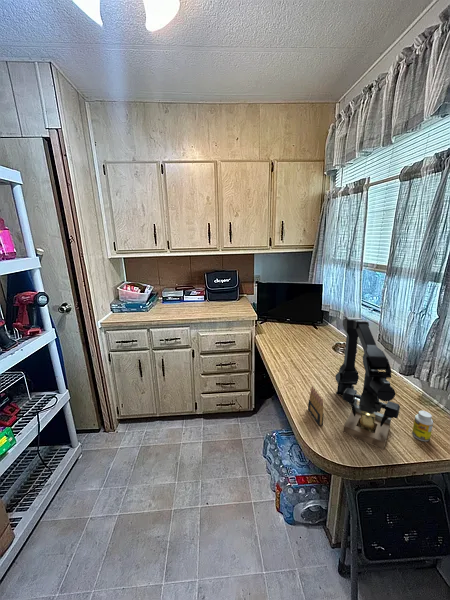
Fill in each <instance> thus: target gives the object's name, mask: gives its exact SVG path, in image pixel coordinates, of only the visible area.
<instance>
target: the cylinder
mask: <svg viewBox="0 0 450 600" xmlns="http://www.w3.org/2000/svg"><path fill="white" fill-rule="evenodd" d="M374 422H375V414H374V413H373V414H370V413H368V412H365V411H362V412H361V419H360V424H359V427H360V428H363V429H365V430H367V431H370V432H372V433H374Z"/></svg>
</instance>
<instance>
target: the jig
mask: <svg viewBox="0 0 450 600" xmlns="http://www.w3.org/2000/svg"><path fill="white" fill-rule="evenodd" d="M361 412H362V410H360V409H359V404H357V410H356V416H354V414H353V411H352V410H351V411H350V413H349V414H348V417H347V419H346V421H345V422H344V425H343V431H342V432H343V433H345V434H346V435H349V436H351V437H354V438H355V439H358V440H361V441H362V442H366V443H367V444H370V445H372V446H374V447H377V448H380V449H382V450H385V446H386V443H387V439H388V435H389V432H390V428H391V423H392V422H391V421H392V418H388V419H387V420H386V421H385V422H384V424H383V425H382V427H381V426H380V424H381V421H382V418H383V415H384V413H381V412H377V413H376V412H374V414H375V422H374V429H373V431H374V432H373V433H372V432H370V431H367V430H365V429H363V428H360V419H361Z"/></svg>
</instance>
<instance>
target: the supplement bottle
mask: <svg viewBox="0 0 450 600" xmlns="http://www.w3.org/2000/svg"><path fill="white" fill-rule="evenodd" d="M432 417H433V415H432V414H431V413H430V412H428V411H426V410H419V411H418V414H415V416H414V421H413V426H412V432H411V434H412V436H413V437H414V438H415V439H417V440H419V441H421V442H429V441H430V440H431V434H432V431H433V426H434V421H433V419H432Z"/></svg>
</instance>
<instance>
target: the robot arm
mask: <svg viewBox="0 0 450 600" xmlns="http://www.w3.org/2000/svg"><path fill="white" fill-rule="evenodd" d="M342 327H343V331H344V332H345V335H346V338H345V350H344V357H343V359H344V360H343V363H342V364H341V365H340V366H339V369H338V371H337V373H336V374H335V381H336V382H337V390H336V393H335V394H336V395H338V396H341V397H342V399H343V400H344V401H345V402H346V403H348V404H349V405H350V407H351V411H353V414H354V416H356V410H357V405H358V406H359V409H360V410H362V411H365V412H368V413H370V414H373V413H374V412H376V413H377V412H378V413H381V409H383V410H384V412H383V418H382V421H381V424H380V426H381V427H382V425H383V424H384V422H385V421H386V420H387V419H388V418H391V419H398V418H399V414H400V409H401V406H400V404H399V403H396V402H393V401H392V400H393V399H394V398H395V396H396V392H395V389H394V388H393V387H392V386H391V382H390V381H389V380H387V378H390V379H391V378H392V369H391V365H390V361H389V359H388V358H387V356H386V354H385V352H384V350H382V349H381V348H379V346H378V345H377V343H376V341H375V338H374V336H373V334H372V331H371V328H370V322H369V321H368V320H366V319H365V320H364V319H362V317H349V316H348V317H347V316H346V317H345V318H344V319H343V320H342ZM358 339H359V341H360V344H361V347H362V349H363V352H364V353H363V355H362V364H363V368H364V370H365V372H364V380H363V387H362V393H361V394H358V392H357V391H358V390H357V389H355V386H357V385H358V382H359V377H360V376H359V371H358V370H357V368H356V359H357V358H356V357H357V350H358ZM358 401H359V402H358ZM381 401H382V402H381ZM385 402H387V403H385ZM358 403H359V404H358Z"/></svg>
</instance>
